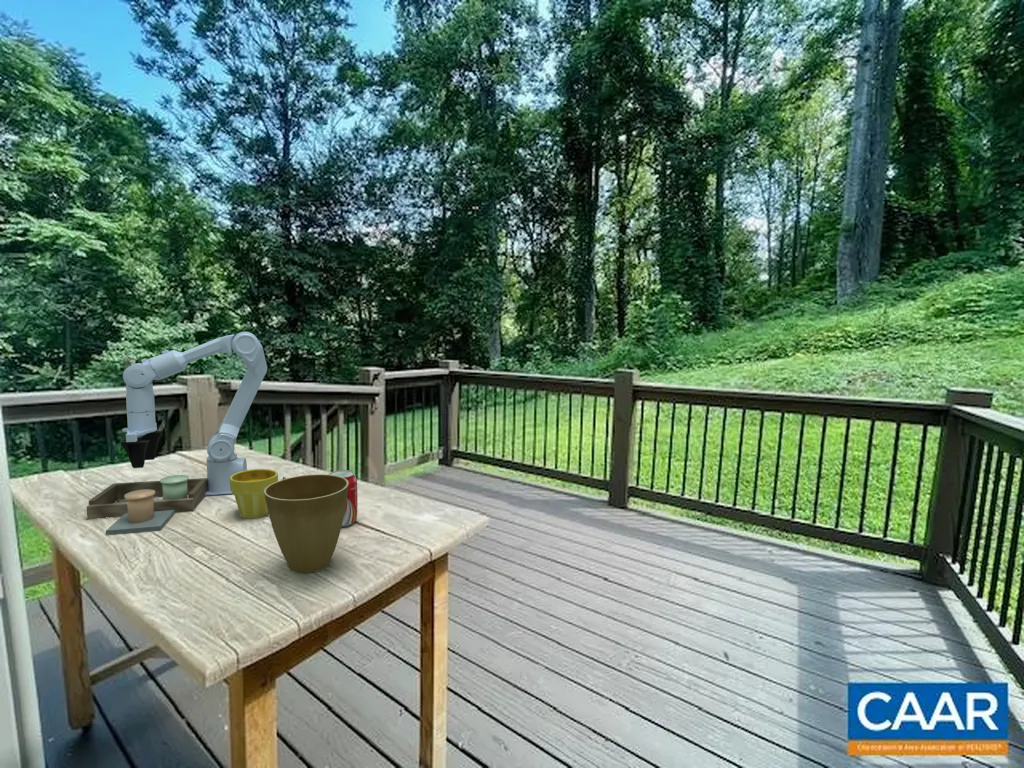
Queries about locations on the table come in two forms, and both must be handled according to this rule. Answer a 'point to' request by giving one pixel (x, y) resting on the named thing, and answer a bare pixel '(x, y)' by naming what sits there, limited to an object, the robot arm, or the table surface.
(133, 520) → the terracotta pot
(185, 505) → the frame
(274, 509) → the plant pot
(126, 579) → the table surface
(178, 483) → the green pot
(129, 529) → the slate slab
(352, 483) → the soda can
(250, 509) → the plant pot
